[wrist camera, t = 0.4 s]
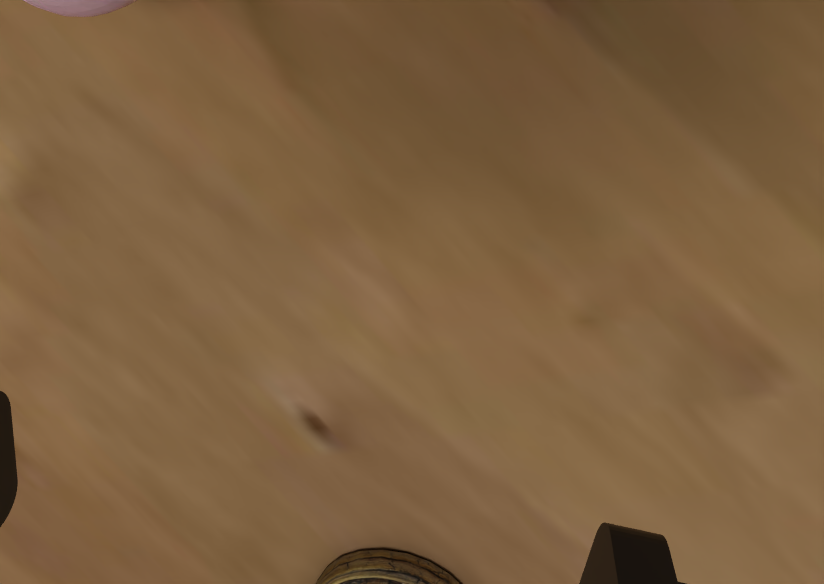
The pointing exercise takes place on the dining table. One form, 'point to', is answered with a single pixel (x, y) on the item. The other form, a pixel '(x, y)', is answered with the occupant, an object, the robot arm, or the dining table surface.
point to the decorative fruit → (80, 6)
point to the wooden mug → (383, 569)
